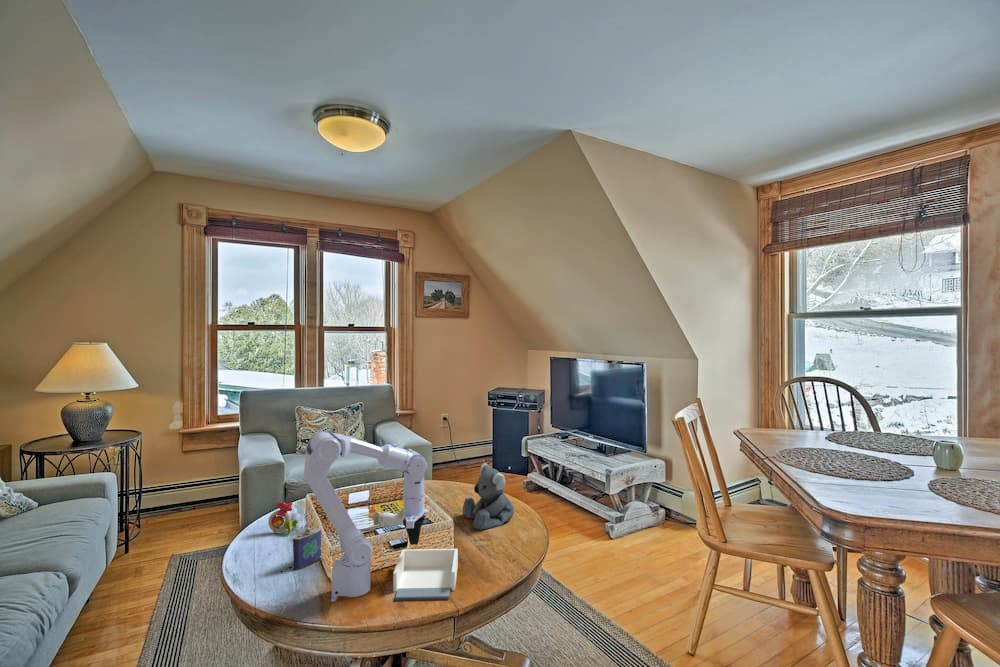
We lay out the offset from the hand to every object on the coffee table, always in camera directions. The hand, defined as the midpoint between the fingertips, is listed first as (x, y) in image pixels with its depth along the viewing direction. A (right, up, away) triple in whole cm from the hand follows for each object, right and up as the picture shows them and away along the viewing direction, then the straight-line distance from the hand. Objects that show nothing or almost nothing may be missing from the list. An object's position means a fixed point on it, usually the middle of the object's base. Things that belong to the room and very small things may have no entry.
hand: (414, 543), depth 132 cm
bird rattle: (-51, -10, +30) cm, 60 cm away
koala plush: (+21, -10, +41) cm, 47 cm away
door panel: (+4, -8, -9) cm, 13 cm away
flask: (-33, -10, +8) cm, 36 cm away
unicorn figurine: (-9, -10, +24) cm, 27 cm away
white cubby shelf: (+4, -9, -3) cm, 11 cm away
